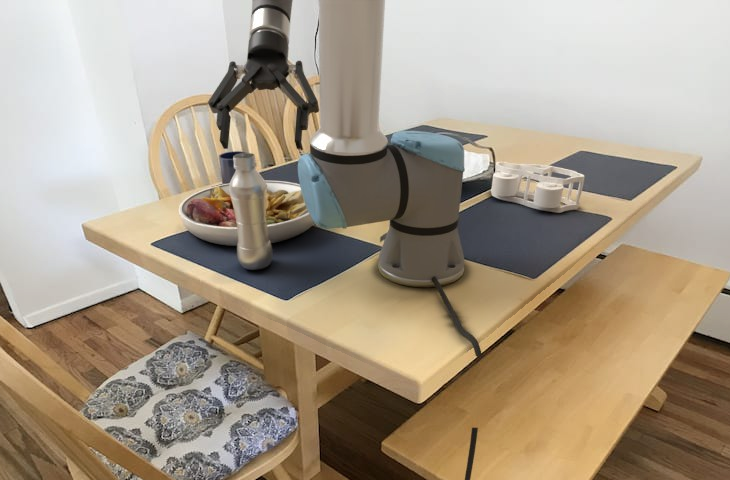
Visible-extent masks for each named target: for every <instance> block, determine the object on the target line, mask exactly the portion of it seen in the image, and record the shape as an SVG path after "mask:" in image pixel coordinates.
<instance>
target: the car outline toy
mask: <svg viewBox="0 0 730 480" xmlns="http://www.w3.org/2000/svg"><path fill="white" fill-rule="evenodd" d="M494 166H495V167H494V169H495V171H494V173H493V175H492V180H491V181H492V182H491V190H490V193H491V196H492V197H494V198H496V199H498V200H501V201H506V202H512V203H516V204H520V205H523V206H525V207H528V208H532V209H536V210H539V211H545V212H552V213H558V214H560V213H563V212H567V211H574V210H575V211H576V210H578V208H579V206H580V202H581V196H582V192H583V188H584V183H585V175H584V174H583V173H579V172H578V171H576V170H572V169H567V168H563V167H560V166H554V165H547V164H546V165H545V164H539V163H538V164H533V163H512V162H506V161H496V162H495V165H494ZM552 173H556V174H561V175H565V176H569V177H566V178H562V177H555V176H552V175H553V174H552ZM546 174H547V175H546ZM523 177H524V178H526V183H525V189H524V190H523V189H521V186H522V180H523ZM531 180H535V181H538V182H536V186H535V190H530V187H531ZM575 183H579V184H578V187H577V188H578V189H577V193H576V197H575V200H572V199H571V197H572V191H573V187H574V184H575ZM564 185H568V189H567V193H566V197H565V196H563V192H564V187H565V186H564ZM561 203H563V204H565V205H562V206H561Z"/></svg>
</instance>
